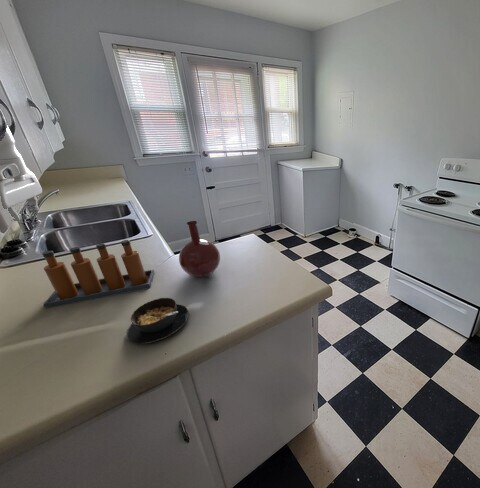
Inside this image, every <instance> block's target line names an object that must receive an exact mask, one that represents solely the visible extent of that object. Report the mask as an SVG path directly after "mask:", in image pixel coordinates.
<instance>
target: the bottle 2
mask: <svg viewBox="0 0 480 488" xmlns="http://www.w3.org/2000/svg"><path fill="white" fill-rule="evenodd" d="M95 248H96V250H97V251H98V253H99V257H97V258H96V263H97V265H98V267H99V269H100V272H101V274H102V276H103V279H105V281H106V284H107V286H108V288H109V290H115V289H121V288H123V287H124V286H125V282H124V279H123V276H122V275H123V274H122V271H121V268H120V266H119V264H118V261H117V258H116V256H115V254H109V252H108V249H107V246H106V243H105V242H101V243H97V244H96V245H95Z"/></svg>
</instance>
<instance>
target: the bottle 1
mask: <svg viewBox="0 0 480 488" xmlns="http://www.w3.org/2000/svg"><path fill="white" fill-rule="evenodd" d="M69 252H70V254H71V255H72V258H73V259H74V261H72V262H71V263H70V266H71V269H72V270H73V272H74V275H75V277H76V279H77V281H78V283H80V285H81V287H82V290H83V292H84V294H85V295H89V294H95V293H98V292H100V291H101V290H102V286H101V284H100V282H99V279H100V278H99V277H98V274H97V273H96V270H95V267H94V265H93V263H92V261H91V259H90V258H89V257H84V256H83V254H82V250H81V247H80V246H74V247H71V248H69Z"/></svg>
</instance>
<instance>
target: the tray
mask: <svg viewBox="0 0 480 488" xmlns="http://www.w3.org/2000/svg"><path fill="white" fill-rule="evenodd" d="M144 271H145V274H146V277H147V280H148V281H147V282H146V283H145V284H141V285H136V286H133V285H132V284H131V281H130V278H129V276H128V273H126V274H122V276H123V279H124V282H125V286H124V287H123V288H121V289H115V290H109V288H108V286H107V284H106V281H105V279H104V278H98V279H99V282H100V284H101V286H102V290H101V291H100V292H98V293H95V294H89V295H85V294H84V292H83V290H82V287H81V285H80V283H79V282H77V283H74V284H75V287H76V289H77V291H78V295H76V296H75V297H73V298H69V299H64V300H60V299H59V297H58V295H57V293H56V291H55V290H54V291H53V292H52V294H50V296H49V297H48V298H47V299H46V300H45V301H44V302H43V303H42V305H43V306H44V308H45V309H51V308H56V307H59V306H66V305H70V304H71V305H72V304H74V303H80V302H86V301H90V300H91V301H92V300H95V299H100V298H101V299H102V298H105V297H110V296H116V295H120V294H125V293H131V292H137V291H140V290H146V289H150V288H151V287H152V283H153V281H154V279H155V278H154V277H155V274H156V273H155V272H156V271H155V270H154V269H149V270H144Z"/></svg>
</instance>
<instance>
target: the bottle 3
mask: <svg viewBox="0 0 480 488" xmlns="http://www.w3.org/2000/svg"><path fill="white" fill-rule="evenodd" d="M120 244H121V246H122V248H123V251H124V252H123V253H122V254H121V256H120V257H121V259H122V262H123V265H124V267H125V270H126V274H128V276H129V278H130V281H131V284H132V285H133V286H136V285H141V284H145V283H146V282H147V281H148V280H147V277H146V274H145V271H146V270H145V268H144V265H143V263H142V259H141V256H140V254H139V251H137V250H133V248H132V246H131V241H130V239H124V240H122V241H121V242H120Z"/></svg>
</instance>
